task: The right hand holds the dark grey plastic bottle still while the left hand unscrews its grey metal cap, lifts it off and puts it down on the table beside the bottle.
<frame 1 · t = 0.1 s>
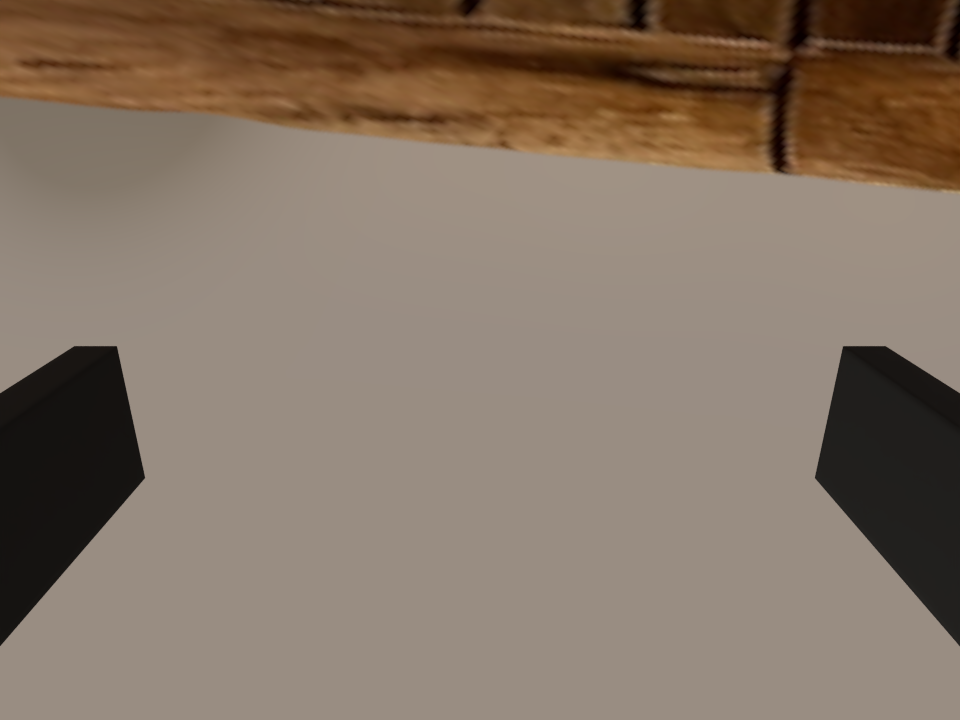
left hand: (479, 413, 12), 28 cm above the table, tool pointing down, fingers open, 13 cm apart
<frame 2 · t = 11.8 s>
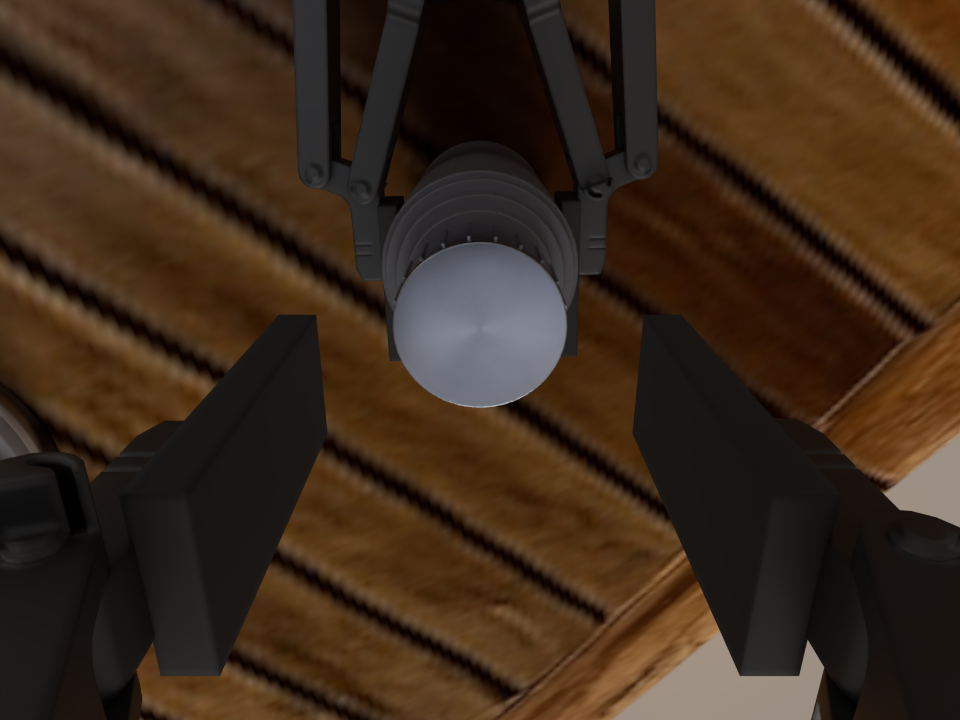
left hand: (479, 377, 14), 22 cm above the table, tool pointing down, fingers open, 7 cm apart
bottle: (479, 207, 34), on the table, touching right hand
cap: (479, 325, 17), point 18 cm above the table, screwed on, not yet turned
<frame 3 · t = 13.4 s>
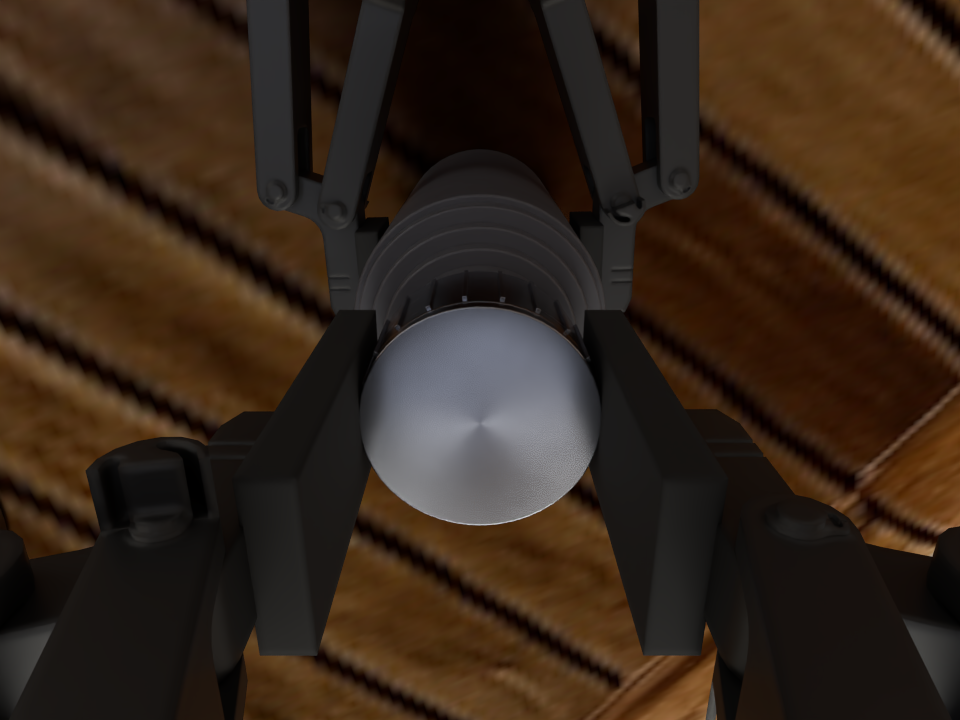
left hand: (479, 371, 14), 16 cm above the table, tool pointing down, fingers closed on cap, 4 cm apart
bottle: (480, 226, 29), on the table, touching right hand
cap: (480, 416, 12), point 18 cm above the table, screwed on, not yet turned, touching left hand
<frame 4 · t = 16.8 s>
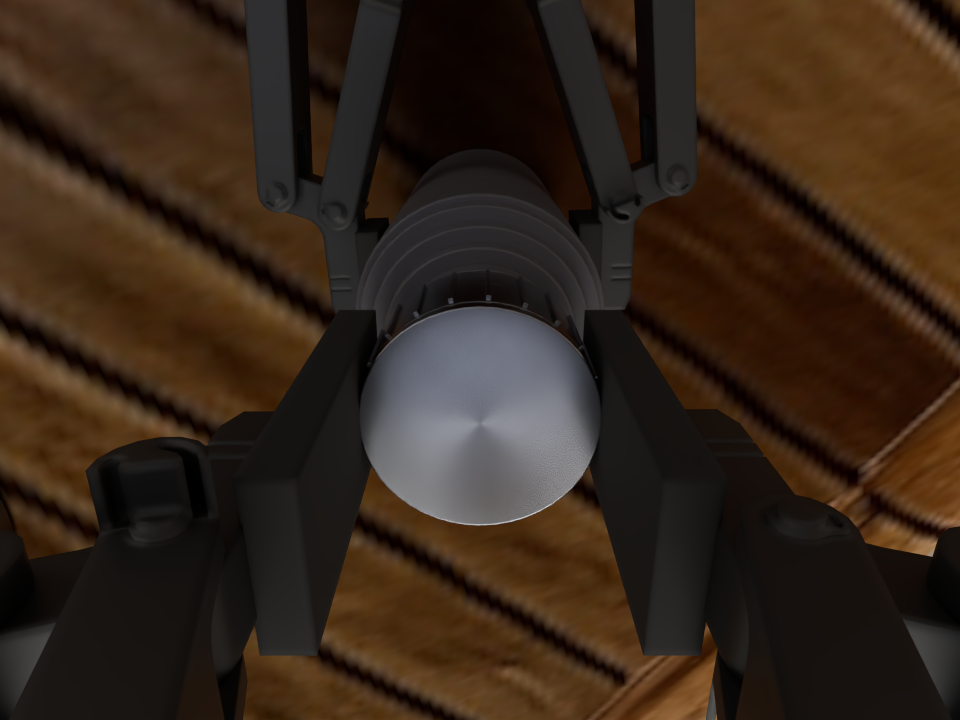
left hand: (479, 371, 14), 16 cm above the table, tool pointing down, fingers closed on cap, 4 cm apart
bottle: (480, 226, 30), on the table, touching right hand
cap: (480, 416, 12), point 18 cm above the table, turned 126° so far, risen 0.1 cm, still on its thread, touching left hand
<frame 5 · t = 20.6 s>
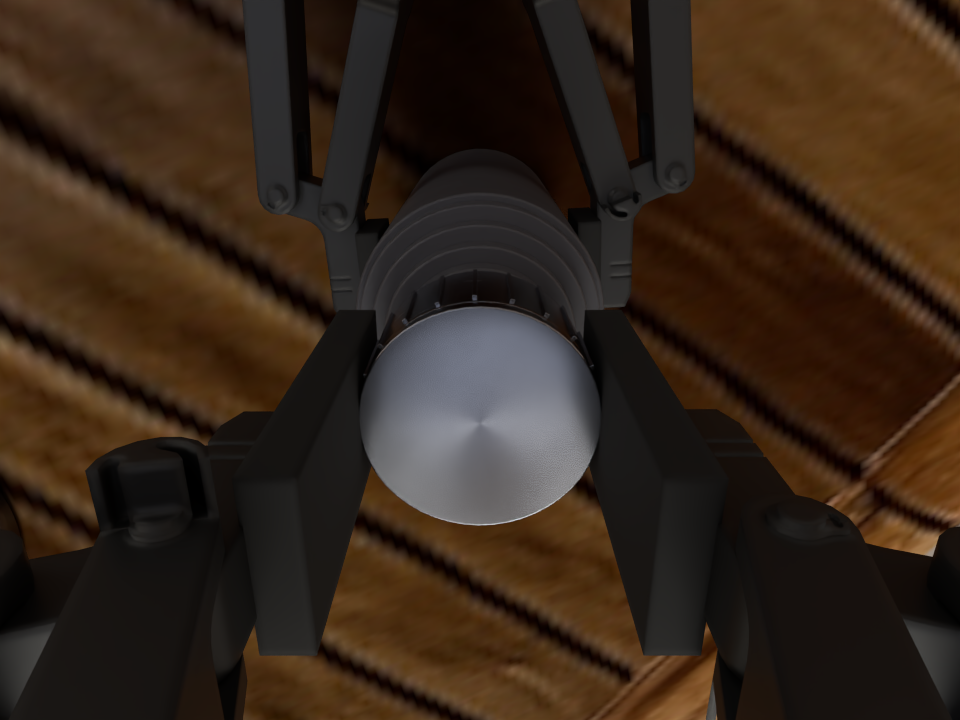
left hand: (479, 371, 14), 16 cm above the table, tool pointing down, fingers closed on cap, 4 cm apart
bottle: (480, 225, 30), on the table, touching right hand
cap: (480, 416, 12), point 19 cm above the table, turned 251° so far, risen 0.2 cm, still on its thread, touching left hand
when the left hand's fingers open (1 cm above the table, at t = 31.1 s): cap drops 1 cm, point 2 cm above the table.
when the right hand's fingers open (7 cm above the table, at t = 32.3 s): bottle stays where it is, on the table.
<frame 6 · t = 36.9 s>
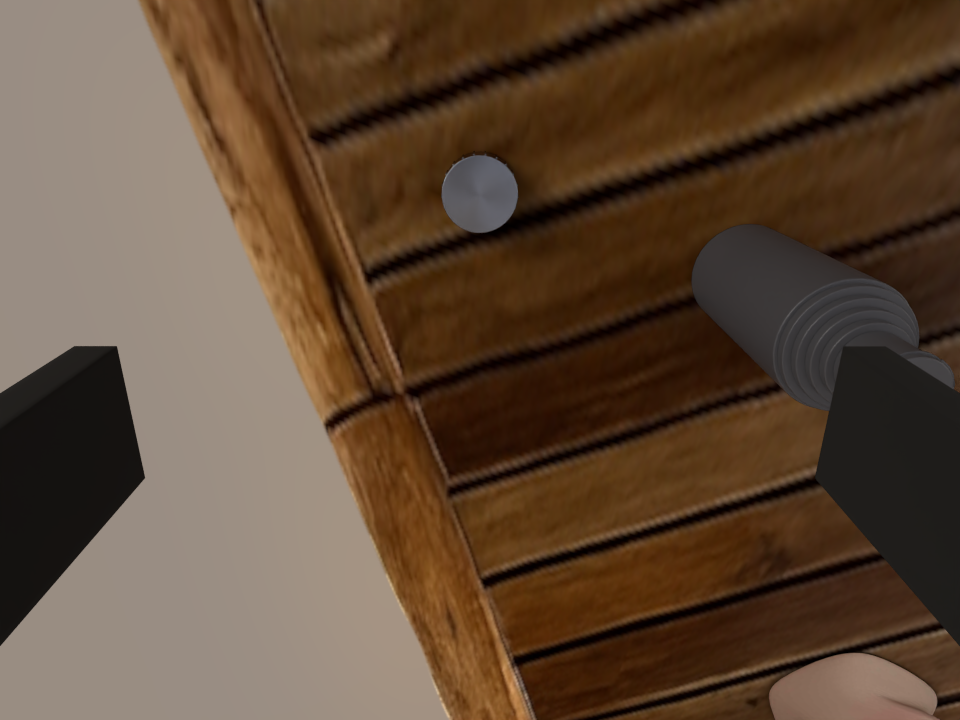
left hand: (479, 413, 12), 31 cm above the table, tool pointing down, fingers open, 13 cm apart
anatomical model: (846, 702, 57), on the table
bottle: (742, 274, 43), on the table
cap: (479, 194, 39), point 2 cm above the table, off its thread
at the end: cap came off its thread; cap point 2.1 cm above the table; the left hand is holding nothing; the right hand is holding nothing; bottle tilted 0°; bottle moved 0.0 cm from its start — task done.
